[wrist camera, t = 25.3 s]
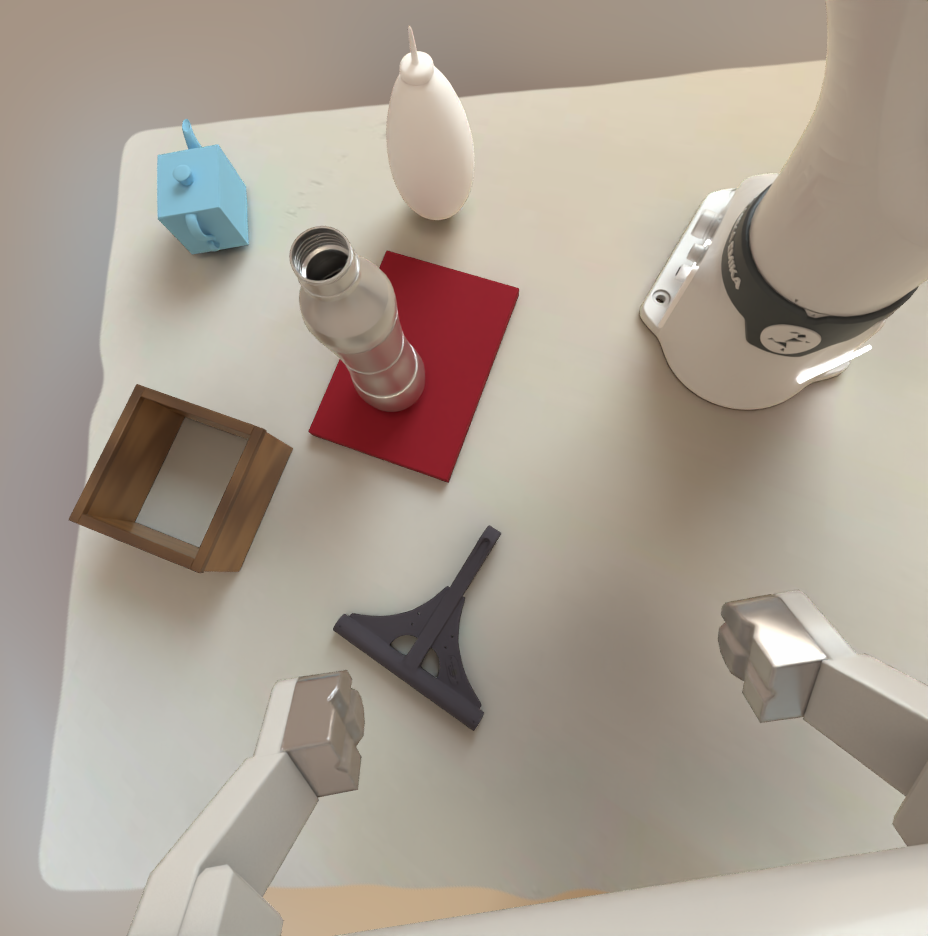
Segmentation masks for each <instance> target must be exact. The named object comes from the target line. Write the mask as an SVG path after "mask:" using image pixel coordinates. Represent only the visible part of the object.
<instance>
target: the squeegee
mask: <svg viewBox="0 0 928 936" xmlns="http://www.w3.org/2000/svg"><path fill="white" fill-rule="evenodd" d="M500 535H501V532H499V531H497V530H496V529H494V528H493V527H491V526H490V525H489V526H488V527H487V528H486V530H485V531H484V532H483V534H482V536H481V537H480V539H479V540H478V542H477V544H476V545H475V547H474V549H473V550H472V552H471V554H470V555H469V557H468V559H467V560H466V562H465V564H464V565H463V567H462V569H461V570H460V572H459V573H458V575H457V577H456V578H455V580H454V582H453V583H452V585H451V586H450V587H448V586H447V587H445V588H444V589H443V590H442V591H441V592H440V593H438V594H437V595H436V596H435V597H434V598H432V599H431V600H429V601H428V602H426V603H425V604H423V605H421V606H419V607H417V608H415V609H414V610H411V611H408V612H404V613H401V614H396V615H390V616H367V615H360V614H353V613H352V614H351V615H350V616H347V615H346V614H344V615H342V616H341V617H340V619H339V620H338V621H337V623H336V624H335V626H334V628H333V630H334V631H335V632H336V633H338V634H339V635H341V636H342V637H343V638H345V639H346V640H348V641H349V642H350V643H352V644H353V645H355V646H356V647H357V648H359V649H360V650H362V651H363V652H364V653H366V654H367V655H369V656H370V657H371V658H373V659H374V660H375V661H377V662H378V663H380V664H381V665H382V666H384V667H385V668H387V669H388V670H389V671H391V672H392V673H394V674H395V675H396V676H398V677H399V678H401V679H402V680H403V681H405V682H406V683H408V684H409V685H410V686H412V687H413V688H414V689H416V690H417V691H419V692H420V693H421V694H423V695H424V696H426V697H427V698H428V699H430V700H431V701H433V702H434V703H435V704H437V705H438V706H440V707H441V708H442V709H444V710H445V711H447V712H448V713H449V714H451V715H452V716H453V717H455V718H456V719H458V720H459V721H460V722H462V723H463V724H465V725H466V726H467V727H469V728H470V729H472V730H473V731H474V730H475V729H476V727H477V726H478V724H479V722H480V720H481V718H482V716H483V714H484V712H483V711H482V710H480V707H481V703H480V701H479V699H478V698H477V696H476V694H475V693H474V691H473V689H472V687H471V685H470V683H469V681H468V679H467V676H466V674H465V671H464V668H463V665H462V661H461V656H460V651H459V644H458V635H459V622H460V616H461V612H462V608H463V604H464V600H465V597H463V595H464V593H465V591H466V590H467V588H468V587H469V585H470V583H471V582H472V580H473V579H474V577H475V575H476V574H477V572H478V571H479V569H480V567H481V566H482V564H483V563H484V561H485V559H486V558H487V556H488V555H489V553H490V551H491V550H492V548H493V547H494V545H495V543H496V542H497V540H498V538H499V537H500ZM418 613H420V614H418ZM412 623H413V625H412ZM402 635H412V636H415V637H416V638H418V639H417V640H416V642H415V644H414V645H413V647H412V648H411V650H410V651H409V653H408V654H407V655H406V656H405V655H403V654H401V653H400V652H398V651H397V650H395V649H394V648H392V647H391V646H390V644H391V642H392V641H393V640H394V639H396V638H397V637H399V636H402ZM452 635H453V637H452ZM445 646H446V647H447V648H445ZM430 647H431V648H432V649H433V650H434V651H435V652H436V654H437V655H438V658H439V662H440V670H439V674H438V676H437V678H435V677H433V676H432V675H431V674H429V673H428V672H426V671H425V670H424V669H422V667H421V663H422V661H423V659H424V657H425V656H426V654H427V652H428V651H429V649H430Z"/></svg>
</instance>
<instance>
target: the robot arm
mask: <svg viewBox="0 0 928 936" xmlns="http://www.w3.org/2000/svg"><path fill="white" fill-rule="evenodd" d="M825 4H826V11H827V12H826V13H827V33H828V36H827V57H826V66H825V74H824V80H823V84H822V89H821V93H820V96H819V100H818V102H817V105H816V108H815V110H814V113H813V115H812V117H811V119H810V121H809V123H808V125H807V127H806V129H805V130H804V132H803V134H802V136H801V138H800V140H799V141H798V143H797V145H796V147H795V148H794V150H793V152H792V153H791V155H790V157H789V159H788V160H787V162H786V164H785V165H784V167H783V168H782V170H781V171H780V173H767V174H759V175H754V176H751V177H749V178H746V179H745V180H743V181H742V182H741V183H740V185H739V186H738V188H731V189H723V190H719V191H715V192H711V193H710V194H708V195H707V196H706V198H705V199H704V201H703V202H702V203H701V205H700V207H699V208H698V210H697V212H696V213H695V215H694V217H693V218H692V220H691V222H690V224H689V225H688V227H687V229H686V230H685V232H684V234H683V236H682V237H681V239H680V241H679V242H678V244H677V246H676V247H675V249H674V251H673V253H672V254H671V256H670V258H669V259H668V261H667V263H666V265H665V266H664V268H663V270H662V271H661V273H660V275H659V277H658V278H657V280H656V282H655V283H654V285H653V287H652V288H651V290H650V292H649V294H648V295H647V297H646V299H645V300H644V302H643V304H642V306H641V308H640V317H641V319H642V320H643V322H644V323H645V324H646V326H647V327H648V328H649V329H650V330H651V331H652V332H653V333H654V334H655V335H656V336H657V338H658V340H659V342H660V344H661V346H662V349H663V352H664V355H665V358H666V360H667V362H668V364H669V366H670V368H671V369H672V371H673V372H674V374H675V375H676V376H677V378H678V379H679V380H680V381H681V382H682V383H683V384H684V385H685V386H686V387H687V388H688V389H690V390H691V391H692V392H694V393H695V394H697V395H698V396H700V397H702V398H703V399H705V400H707V401H709V402H712V403H714V404H717V405H720V406H723V407H727V408H732V409H742V410H753V409H762V408H767V407H771V406H774V405H777V404H780V403H782V402H784V401H786V400H788V399H790V398H791V397H793V396H794V395H796V394H797V393H798V392H800V391H801V390H802V389H803V388H805V387H806V386H808V385H809V384H811V383H813V382H816V381H820V380H825V379H828V378H832V377H835V376H837V375H839V374H841V373H842V372H843V371H844V370H845V369H847V368H848V367H849V365H850V362H851V359H852V358H854V357H856V356H858V355H860V354H863V353H864V352H866V351H868V350H869V349H871V346H870V345H869V346H866V347H864V348H862V349H860V350H858V351H856V352H854V351H855V350H856V349H857V348H859V347H860V346H861V345H862V344H863V343H865V342H866V341H867V340H868V339H870V338H871V337H872V336H873V335H874V334H876V333H877V332H878V331H879V330H880V329H881V328H882V327H883V325H884V323H885V319H886V318H888V317H889V316H891V315H892V314H893V313H894V311H896V310H897V309H898V308H899V307H900V306H901V305H903V304H904V303H905V302H906V301H907V300H908V299H909V298H910V297H911V296H912V295H913V293H914V292H915V291H916V290H917V288H918V286H919V285H920V284H922V283H923V282H925V281H926V280H928V0H825ZM656 299H661V300H662V301H663V303H659V302H657V301H656ZM852 352H854V353H852ZM851 353H852V354H851ZM721 616H722V617H723V619H724V621H725V623H724V624H723V625H722V626H721V627H720V628H719V632H718V642H719V647H720V652H721V654H722V657H723V659H724V662H725V664H726V665H727V667H728V669H729V671H730V672H731V674H733V675H735V676H736V677H738V678H739V679H741V680H742V681H744V685H743V691H742V693H743V695H744V696H745V698H746V700H747V701H748V703H749V705H750V706H751V708H752V710H753V712H754V713H755V715H756V717H757V718H758V720H759V722H760V723H762V722H769V721H777V720H784V719H791V718H798V717H804V718H803V719H804V720H805V721H806V722H808V723H809V724H810V725H812V726H813V727H814V728H816V729H817V730H818V731H820V732H821V733H822V734H824V735H825V736H826V737H828V738H829V739H830V740H832V741H833V742H834V743H836V744H837V745H838V746H840V747H841V748H842V749H844V750H845V751H846V752H848V753H849V754H850V755H852V756H853V757H854V758H856V759H857V760H858V761H859V762H861V763H862V764H863V765H865V766H866V767H867V768H869V769H870V770H871V771H873V772H874V773H875V774H877V775H878V776H879V777H881V778H882V779H883V780H885V781H886V782H887V783H889V784H890V785H891V786H893V787H894V788H895V789H897V790H898V791H899V792H901V793H902V794H903V795H905V796H906V797H905V799H904V801H903V802H902V804H901V806H900V807H899V809H898V811H897V812H896V814H895V816H894V820H893V823H892V824H893V826H894V827H895V829H896V830H897V832H898V833H899V835H900V836H901V838H902V839H903V841H904V842H905V843H906V845H907V846H908V847H901V848H895V849H889V850H882V851H876V852H869V853H863V854H856V855H850V856H844V857H837V858H831V859H824V860H818V861H811V862H805V863H798V864H792V865H786V866H779V867H773V868H766V869H760V870H753V871H747V872H741V873H734V874H728V875H721V876H715V877H708V878H702V879H696V880H689V881H683V882H676V883H670V884H663V885H657V886H650V887H644V888H638V889H631V890H625V891H618V892H612V893H606V894H599V895H594V896H586V897H580V898H573V899H567V900H560V901H554V902H548V903H541V904H535V905H529V906H522V907H515V908H509V909H502V910H496V911H490V912H483V913H477V914H471V915H464V916H458V917H452V918H445V919H438V920H432V921H426V922H419V923H414V924H407V925H400V926H393V927H387V928H381V929H374V930H368V931H361V932H355V933H348V934H342V935H336V936H928V685H926V684H924V683H922V682H920V681H918V680H916V679H914V678H912V677H910V676H908V675H906V674H905V673H903V672H901V671H899V670H897V669H895V668H893V667H891V666H889V665H887V664H885V663H883V662H881V661H879V660H877V659H875V658H873V657H871V656H869V655H868V654H866V653H865V654H857V653H856V652H855V651H854V650H853V648H852V647H851V646H850V645H849V644H848V643H847V641H846V640H845V639H844V638H843V637H842V636H841V635H840V633H839V632H838V631H837V630H836V629H835V628H834V626H833V625H832V624H831V623H830V622H829V621H828V620H827V618H826V617H825V616H824V615H823V614H822V613H821V612H820V610H819V609H818V608H817V607H816V606H815V605H814V603H813V602H812V601H811V600H810V599H809V598H808V597H807V595H806V594H805V593H803V592H802V591H800V590H793V591H788V592H783V593H777V594H773V595H772V594H768V595H763V596H758V597H752V598H747V599H742V600H737V601H731V602H726V603H725V604H724V605H723V606H722V611H721ZM351 684H352V678H351V676H350V674H349V672H348V670H343V671H336V672H329V673H323V674H316V675H309V676H303V677H296V678H290V679H284V680H278V681H277V682H276V684H275V685H274V687H273V688H272V691H271V695H270V698H269V702H268V705H267V709H266V712H265V716H264V720H263V723H262V727H261V730H260V734H259V738H258V741H257V745H256V748H255V752H254V755H253V757H251V758H246V759H245V761H244V762H243V763H242V764H241V765H240V767H239V768H238V769H237V770H236V771H235V773H234V774H233V775H232V776H231V777H230V779H229V780H228V781H227V782H226V783H225V785H224V786H223V787H222V788H221V789H220V791H219V792H218V793H217V794H216V795H215V797H214V798H213V799H212V800H211V801H210V803H209V804H208V805H207V806H206V807H205V809H204V810H203V811H202V812H201V813H200V815H199V816H198V817H197V818H196V819H195V821H194V822H193V823H192V824H191V825H190V827H189V828H188V829H187V830H186V831H185V833H184V834H183V835H182V836H181V837H180V839H179V840H178V841H177V842H176V843H175V845H174V846H173V847H172V848H171V849H170V851H169V852H168V853H167V854H166V855H165V857H164V858H163V859H162V860H161V861H160V863H159V864H158V865H157V866H156V867H155V869H154V870H153V871H152V872H151V873H150V875H149V878H148V880H147V883H146V886H145V888H144V891H143V894H142V897H141V899H140V902H139V904H138V907H137V910H136V912H135V915H134V918H133V920H132V923H131V926H130V928H129V931H128V933H127V936H281V931H282V925H283V919H282V917H281V915H280V914H279V913H278V912H277V911H276V910H275V909H274V908H273V907H272V906H271V905H270V904H269V903H268V902H267V901H266V900H265V899H264V898H263V895H264V894H265V892H266V890H267V888H268V887H269V885H270V883H271V882H272V880H273V878H274V876H275V875H276V873H277V871H278V870H279V868H280V866H281V864H282V863H283V861H284V859H285V857H286V856H287V854H288V852H289V851H290V849H291V847H292V845H293V844H294V842H295V840H296V839H297V837H298V835H299V833H300V832H301V830H302V828H303V826H304V825H305V823H306V821H307V820H308V818H309V816H310V814H311V813H312V811H313V809H314V808H315V806H316V804H317V802H318V801H319V799H318V797H322V796H328V795H333V794H338V793H343V792H348V791H353V790H358V785H359V775H360V766H361V755H360V753H359V751H358V749H357V747H356V746H357V744H358V743H359V741H360V740H361V739H362V737H363V736H364V724H365V720H364V707H363V703H362V699H361V696H360V694H359V692H358V691H357V690H355V689H353V688H351Z"/></svg>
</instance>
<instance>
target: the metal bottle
mask: <svg viewBox="0 0 928 936" xmlns="http://www.w3.org/2000/svg"><path fill="white" fill-rule="evenodd" d="M289 257H290V264H291V267H292V269H293V271H294V273H295V274H296V276H297V278H298V280H299V283H300V284H301V288H300V293H299V304H300V310H301V314H302V317H303V320H304V323H305V325H306V327H307V328H308V330H309V331H310V332H311V333H312V334H313V335H314V336H315V337H316V338H317V339H318V341H319V342H320V343H322V344H323V345H324V346H326V347H327V348H328V349H329V350H331V351H332V352H333V353H334V354H336V355H337V356H338V357H339V358H340V359H341V360H342V362H343V363H344V364H345V365H346V367H347V368H348V370H349V372H350V374H351V378H352V381H353V384H354V386H355V388H356V391H357V392H358V394H359V395H360V397H361V398H362V399H363V400H364V401H365V402H367V403H368V404H370V405H371V406H373V407H375V408H377V409H379V410H382V411H386V412H397V411H401V410H404V409H407V408H408V407H410V406H412V405H413V404H414V403H415V402H416V401H417V400H418V399H419V397H420V396H421V394H422V392H423V389H424V385H425V369H424V364H423V362H422V359H421V357H420V356H419V354H418V353H417V351H416V350H415V349H414V347H413V346H412V345H411V344H410V343H409V342H408V341H407V339H406V338H405V336H404V334H403V332H402V328H401V325H400V322H399V316H398V309H397V302H396V296H395V293H394V289H393V287H392V284H391V282H390V280H389V279H388V277H387V276H386V275H385V274H384V273H383V272H382V271H381V270H380V269H379V268H378V267H377V266H376V265H375V264H374V263H372V262H371V261H369V260H368V259H366V258H363V257H361V256H358V255H357V253H356V252H355V250H354V249H353V248H352V246H351V244H350V242H349V240H348V239H347V238H346V236H345V235H344V234H343V233H342V232H340V231H339V230H337V229H335V228H332V227H328V226H317V227H313V228H310V229H308V230H306V231H304V232H303V233H301V234H300V235H299V236H298V237H297V238H296V239H295V241H294V242H293V244H292V246H291V250H290V256H289Z"/></svg>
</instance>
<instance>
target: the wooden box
mask: <svg viewBox="0 0 928 936" xmlns="http://www.w3.org/2000/svg"><path fill="white" fill-rule="evenodd" d="M185 417H186V418H189V419H192V420H195V421H197V422H200V423H203V424H206V425H209V426H211V427H214V428H217V429H220V430H222V431H225V432H228V433H231V434H234V435H236V436H239V437H242V438H245V439H248V442H247V444H246V446H245V449H244V451H243V453H242V455H241V457H240V460H239V462H238V464H237V466H236V468H235V471H234V473H233V475H232V477H231V480H230V482H229V484H228V486H227V488H226V491H225V493H224V495H223V497H222V499H221V502H220V504H219V506H218V508H217V510H216V513H215V515H214V517H213V519H212V522H211V524H210V526H209V528H208V530H207V533H206V535H205V537H204V539H203V541H202V544H201V546H200V548H199V547H196V546H194V545H191V544H189V543H186V542H184V541H181V540H178V539H176V538H173V537H171V536H168V535H166V534H163V533H161V532H158V531H156V530H153V529H151V528H148V527H146V526H143V525H141V524H138V523H136V522H135V520H136V518H137V516H138V514H139V512H140V510H141V507H142V505H143V503H144V501H145V499H146V497H147V495H148V493H149V491H150V489H151V487H152V484H153V482H154V480H155V478H156V476H157V474H158V472H159V470H160V468H161V466H162V464H163V462H164V459H165V457H166V455H167V453H168V451H169V449H170V447H171V445H172V443H173V441H174V439H175V437H176V434H177V432H178V430H179V428H180V426H181V424H182V422H183V420H184V418H185ZM292 449H293V448H292V447H290V446H289V445H287V444H285V443H284V442H282V441H280V440H279V439H277V438H275V437H274V436H272V435H270V434H269V433H267V431H266V430H265V429H263V428H260V427H257V426H254V425H252V424H249V423H246V422H243V421H240V420H237V419H235V418H232V417H229V416H226V415H223V414H220V413H218V412H215V411H212V410H209V409H206V408H203V407H201V406H198V405H195V404H192V403H189V402H186V401H184V400H181V399H178V398H175V397H172V396H169V395H167V394H164V393H161V392H158V391H155V390H152V389H150V388H147V387H144V386H141V385H138V384H137V385H136V386H135V388H134V390H133V392H132V394H131V396H130V398H129V400H128V402H127V404H126V406H125V408H124V410H123V412H122V414H121V416H120V418H119V420H118V422H117V424H116V426H115V428H114V430H113V432H112V434H111V436H110V438H109V440H108V442H107V444H106V446H105V448H104V450H103V452H102V454H101V456H100V458H99V460H98V462H97V464H96V466H95V468H94V470H93V472H92V474H91V476H90V478H89V480H88V482H87V484H86V486H85V488H84V490H83V492H82V494H81V496H80V498H79V500H78V502H77V504H76V506H75V508H74V510H73V512H72V514H71V516H70V518H69V520H70V521H72V522H75V523H78V524H80V525H82V526H84V527H87V528H89V529H92V530H94V531H97V532H99V533H102V534H104V535H107V536H109V537H112V538H114V539H116V540H119V541H121V542H124V543H126V544H129V545H131V546H134V547H136V548H139V549H141V550H144V551H146V552H148V553H151V554H153V555H156V556H158V557H161V558H163V559H166V560H168V561H171V562H173V563H176V564H178V565H180V566H183V567H185V568H188V569H191V570H193V571H195V572H198V573H203V572H204V571H214V572H239V571H240V568H241V566H242V564H243V561H244V559H245V557H246V555H247V552H248V550H249V548H250V545H251V543H252V541H253V538H254V536H255V534H256V532H257V529H258V527H259V525H260V522H261V520H262V518H263V516H264V513H265V511H266V509H267V506H268V504H269V502H270V499H271V497H272V495H273V493H274V490H275V488H276V486H277V483H278V481H279V479H280V476H281V474H282V472H283V470H284V467H285V465H286V463H287V460H288V458H289V456H290V453H291V451H292Z"/></svg>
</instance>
